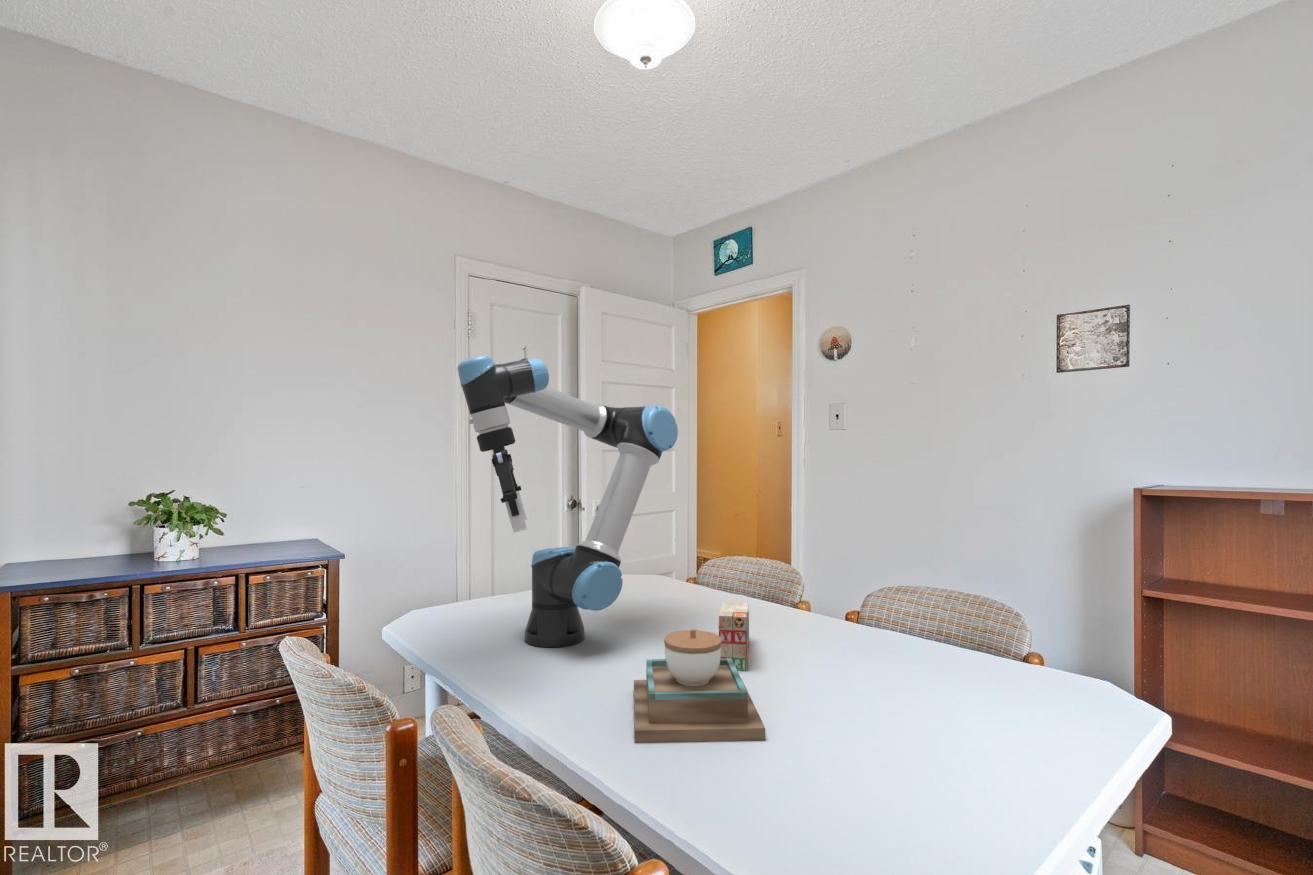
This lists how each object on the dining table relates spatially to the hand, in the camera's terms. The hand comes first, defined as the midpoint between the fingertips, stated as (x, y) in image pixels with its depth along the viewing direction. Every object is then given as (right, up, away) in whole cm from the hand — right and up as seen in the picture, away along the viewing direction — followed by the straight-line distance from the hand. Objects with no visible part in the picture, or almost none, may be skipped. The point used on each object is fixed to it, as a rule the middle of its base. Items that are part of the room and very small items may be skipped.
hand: (520, 525), depth 131 cm
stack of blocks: (+48, -33, +14) cm, 60 cm away
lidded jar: (+36, -26, -18) cm, 48 cm away
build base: (+36, -32, -18) cm, 51 cm away
